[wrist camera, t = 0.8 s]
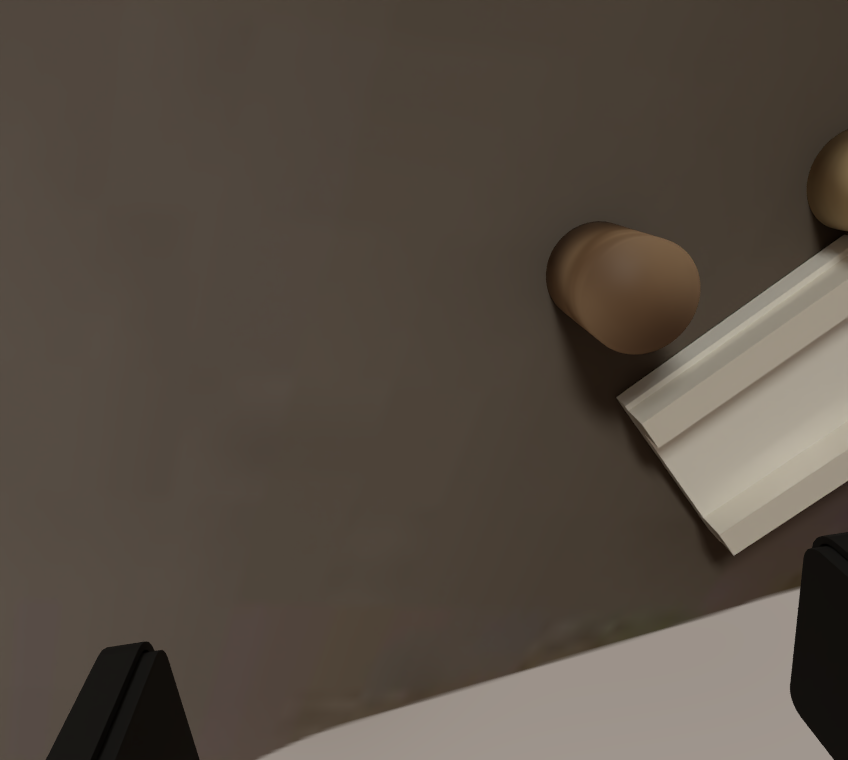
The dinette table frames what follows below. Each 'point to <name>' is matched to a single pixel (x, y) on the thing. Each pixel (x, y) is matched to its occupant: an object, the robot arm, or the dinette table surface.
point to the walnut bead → (624, 286)
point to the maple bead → (830, 183)
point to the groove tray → (757, 405)
